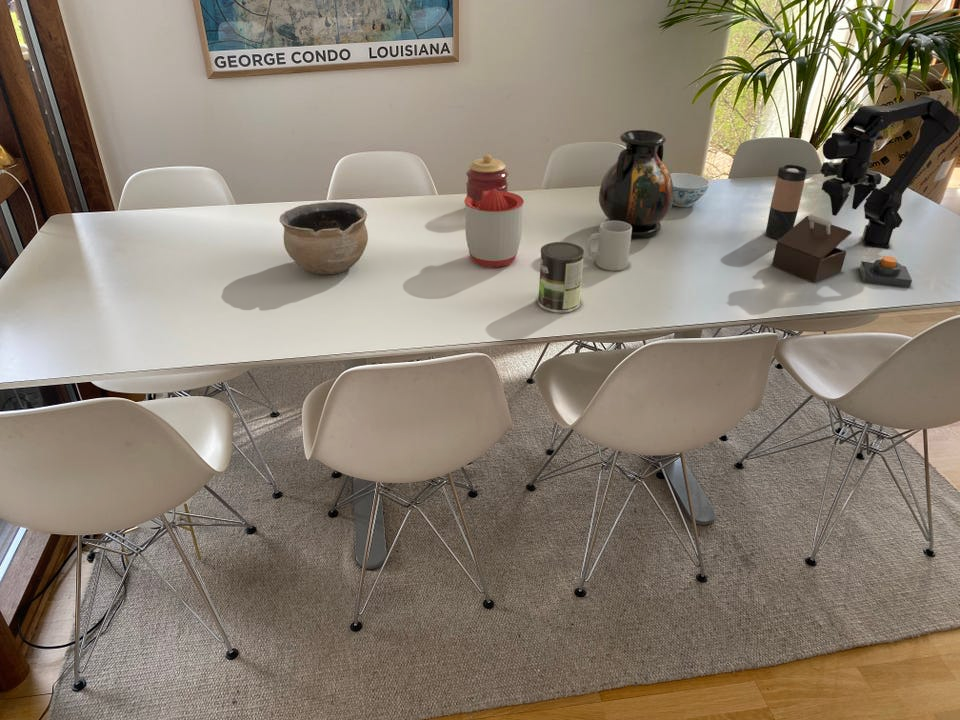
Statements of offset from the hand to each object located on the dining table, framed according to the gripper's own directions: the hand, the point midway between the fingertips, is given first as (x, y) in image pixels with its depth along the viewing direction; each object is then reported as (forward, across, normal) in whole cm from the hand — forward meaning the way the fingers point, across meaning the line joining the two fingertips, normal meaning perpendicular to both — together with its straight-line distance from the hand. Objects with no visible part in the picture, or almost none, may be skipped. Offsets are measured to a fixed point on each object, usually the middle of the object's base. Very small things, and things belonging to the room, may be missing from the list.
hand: (844, 212), depth 214 cm
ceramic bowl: (+11, +125, -67) cm, 143 cm away
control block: (+11, +6, +19) cm, 23 cm away
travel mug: (+11, +5, -15) cm, 20 cm away
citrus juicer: (+11, +86, -48) cm, 99 cm away
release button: (+7, +6, +19) cm, 21 cm away
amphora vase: (+11, +38, -42) cm, 58 cm away
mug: (+11, +62, -28) cm, 69 cm away
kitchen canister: (+11, +65, -80) cm, 104 cm away
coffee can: (+11, +87, -17) cm, 90 cm away
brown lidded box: (+11, +19, +4) cm, 22 cm away
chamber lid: (+2, +19, +4) cm, 19 cm away
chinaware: (+11, +9, -50) cm, 52 cm away
